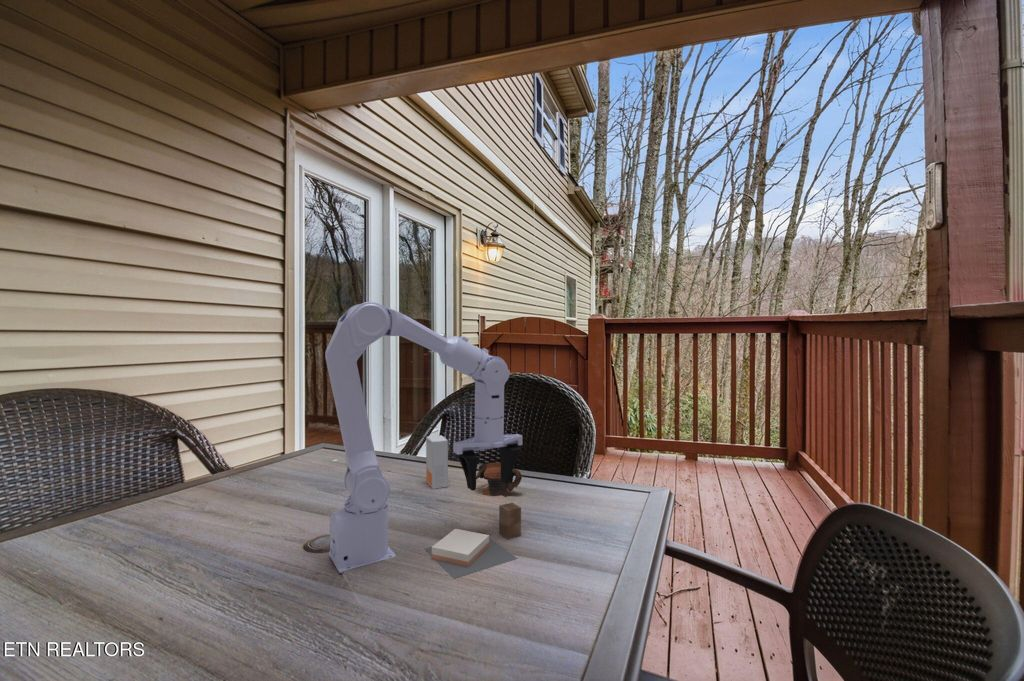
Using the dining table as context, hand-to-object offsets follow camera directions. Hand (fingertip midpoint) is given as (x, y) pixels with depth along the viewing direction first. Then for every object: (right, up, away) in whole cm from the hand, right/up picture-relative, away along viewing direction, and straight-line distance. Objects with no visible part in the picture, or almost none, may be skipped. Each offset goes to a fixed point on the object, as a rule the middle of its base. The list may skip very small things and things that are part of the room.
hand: (488, 485), depth 93 cm
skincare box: (-15, -8, +27) cm, 32 cm away
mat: (-3, -9, -10) cm, 14 cm away
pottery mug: (+1, -9, +22) cm, 24 cm away
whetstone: (-8, -8, -9) cm, 14 cm away
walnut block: (+4, -9, -3) cm, 10 cm away
